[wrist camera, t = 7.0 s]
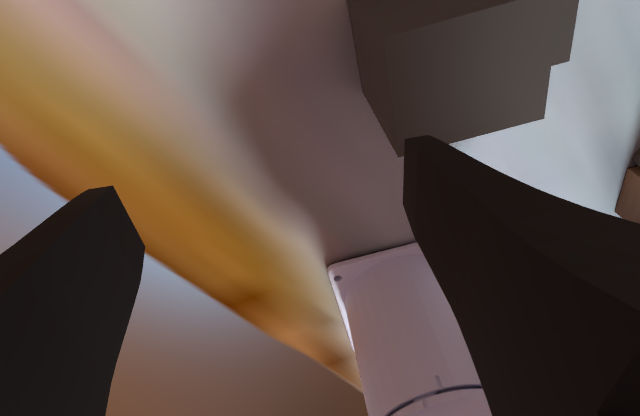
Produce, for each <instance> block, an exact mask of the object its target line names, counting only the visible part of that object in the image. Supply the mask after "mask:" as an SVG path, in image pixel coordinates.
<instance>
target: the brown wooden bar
mask: <svg viewBox="0 0 640 416" xmlns="http://www.w3.org/2000/svg"><path fill="white" fill-rule="evenodd" d="M633 162H634V163H635V164H637V165H638V166H636V167H632V168H628V169H627V173H626V176H625V179H624V183H623V186H622V189H621V193H620V196H619V199H618V203H617V206H616V209H615V212H616V213H617V214H618V215H619V216H620V217H621V218H623V219H625V220H629V221H632V222H636V223H639V224H640V150H639V151H638V152H637V153H636V154H635V155H634V158H633Z"/></svg>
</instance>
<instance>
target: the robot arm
mask: <svg viewBox="0 0 640 416" xmlns="http://www.w3.org/2000/svg"><path fill="white" fill-rule="evenodd" d="M403 205H404V208H405V211H406V214H407V217H408V220H409V223H410V226H411V229H412V232H413V234H414V237H415V239H416V241H417V242H416V243H412V244H408V245H404V246H401V247H397V248H393V249H389V250H385V251H381V252H377V253H373V254H369V255H366V256H362V257H358V258H354V259H350V260H346V261H342V262H338V263H334V264H332V265H330V266H329V267H328V269H327V271H328V276H329V279H330V282H331V285H332V288H333V291H334V294H335V297H336V300H337V303H338V306H339V309H340V312H341V315H342V318H343V321H344V324H345V327H346V330H347V333H348V337H349V340H350V343H351V346H352V349H353V350H354V351H355V355H356V360H357V364H358V369H359V374H360V378H361V383H362V387H363V392H364V397H365V401H366V406H367V411H368V415H369V416H640V224H639V223H636V222H632V221H629V220H625V219H622V218H618V217H615V216H612V215H608V214H605V213H602V212H598V211H595V210H592V209H589V208H586V207H583V206H580V205H578V204H575V203H572V202H570V201H567V200H564V199H561V198H559V197H556V196H553V195H551V194H548V193H546V192H543V191H541V190H538V189H536V188H534V187H531V186H529V185H527V184H525V183H523V182H520V181H518V180H516V179H514V178H512V177H509V176H507V175H505V174H503V173H501V172H499V171H497V170H495V169H493V168H491V167H489V166H487V165H485V164H483V163H482V162H480V161H478V160H476V159H474V158H472V157H470V156H468V155H467V154H465V153H463V152H461V151H459V150H457V149H456V148H454V147H452V146H450V145H448V144H446V143H445V142H443V141H441V140H439V139H437V138H435V137H432V136H430V135H425V136H419V137H413V138H407V139H405V143H404V185H403ZM144 252H145V246H144V244H143V242H142V240H141V238H140V236H139V234H138V232H137V230H136V229H135V227H134V225H133V223H132V221H131V219H130V217H129V215H128V213H127V211H126V210H125V208H124V206H123V204H122V202H121V200H120V198H119V196H118V194H117V192H116V191H115V189H114V187H113V186H107V187H101V188H95V189H88V190H86V191H85V192H83V193H81V194H80V195H78V196H77V197H75V198H74V199H72V200H71V201H70V202H68V203H67V204H66V205H64V206H63V207H62V208H60V209H59V210H58V211H56V212H55V213H54V214H52V215H51V216H50V217H49V218H47V219H46V220H45V221H43V222H42V223H41V224H40V225H38V226H37V227H36V228H35V229H33V230H32V231H31V232H29V233H28V234H27V235H26V236H24V237H23V238H22V239H20V240H19V241H18V242H17V243H15V244H14V245H13V246H11V247H10V248H9V249H7V250H6V251H5V252H3V253H2V254H0V416H105V414H106V407H107V402H108V397H109V392H110V387H111V381H112V377H113V374H114V370H115V366H116V362H117V359H118V356H119V352H120V349H121V345H122V342H123V339H124V335H125V333H126V329H127V326H128V323H129V319H130V316H131V313H132V309H133V306H134V303H135V299H136V295H137V292H138V289H139V285H140V281H141V274H142V268H143V260H144ZM335 276H338V277H335Z"/></svg>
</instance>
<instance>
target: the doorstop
mask: <svg viewBox="0 0 640 416" xmlns="http://www.w3.org/2000/svg"><path fill="white" fill-rule="evenodd" d="M578 3H579V0H347V4H348V10H349V16H350V22H351V27H352V33H353V39H354V45H355V51H356V56H357V62H358V68H359V74H360V80H361V85H362V91H363V93H364V95H365V97H366V99H367V101H368V103H369V104H370V106H371V108H372V110H373V112H374V114H375V115H376V117H377V119H378V121H379V123H380V125H381V126H382V128H383V130H384V132H385V134H386V136H387V137H388V139H389V141H390V143H391V145H392V147H393V148H394V150H395V152H396V154H397V156H398V157H401V156H404V143H405V139H407V138H413V137H419V136H425V135H430V136H432V137H435V138H437V139H439V140H441V141H443V142H445V143H446V144H450V143H454V142H458V141H461V140H465V139H469V138H473V137H476V136H480V135H484V134H488V133H491V132H495V131H499V130H503V129H506V128H510V127H514V126H518V125H521V124H525V123H529V122H533V121H536V120H540V119H544V115H545V107H546V100H547V92H548V85H549V77H550V70H551V66H553V65H557V64H560V63H564V62H568V61H569V59H570V53H571V47H572V40H573V34H574V28H575V22H576V15H577V9H578Z"/></svg>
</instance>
